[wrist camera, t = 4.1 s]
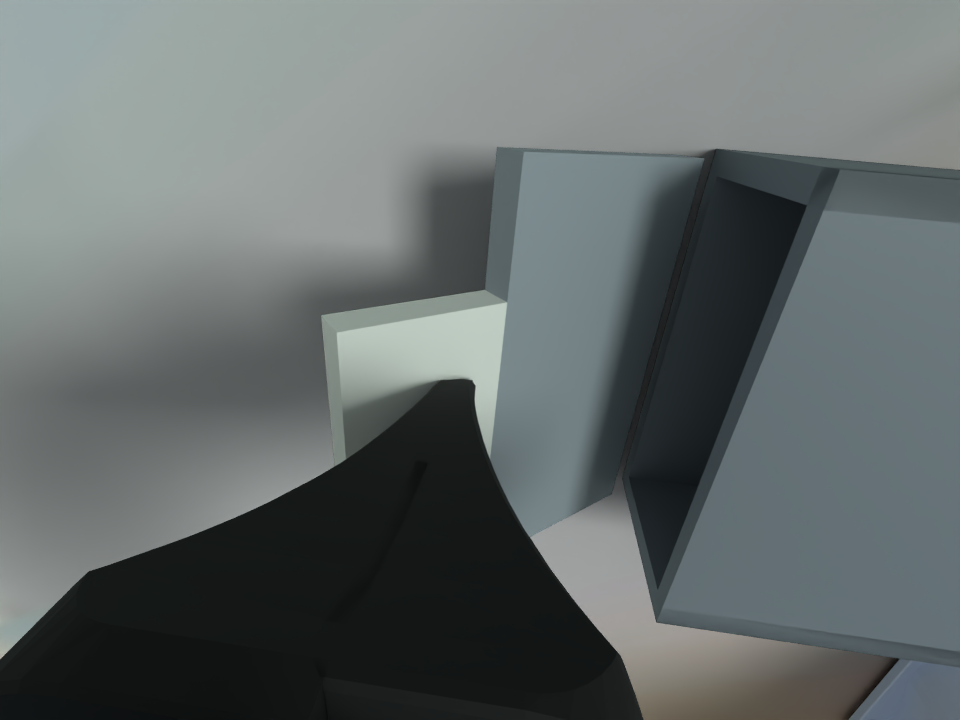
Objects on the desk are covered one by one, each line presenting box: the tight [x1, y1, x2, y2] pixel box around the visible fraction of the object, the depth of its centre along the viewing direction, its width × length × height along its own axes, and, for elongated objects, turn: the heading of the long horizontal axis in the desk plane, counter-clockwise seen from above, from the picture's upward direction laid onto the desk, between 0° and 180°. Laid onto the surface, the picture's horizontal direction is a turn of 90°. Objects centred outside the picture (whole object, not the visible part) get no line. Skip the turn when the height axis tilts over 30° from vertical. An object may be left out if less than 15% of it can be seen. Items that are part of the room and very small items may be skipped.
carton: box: [622, 149, 960, 668], centre depth 12 cm, size 11×9×6 cm
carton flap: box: [321, 147, 704, 537], centre depth 11 cm, size 11×1×9 cm
